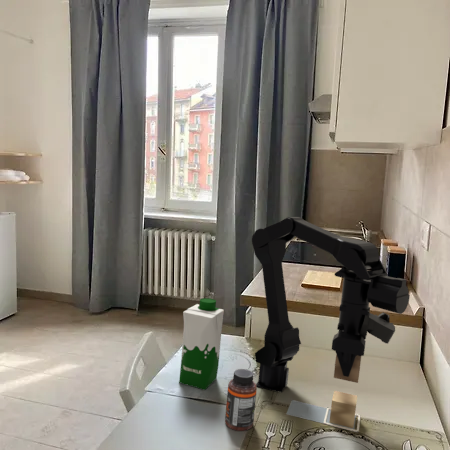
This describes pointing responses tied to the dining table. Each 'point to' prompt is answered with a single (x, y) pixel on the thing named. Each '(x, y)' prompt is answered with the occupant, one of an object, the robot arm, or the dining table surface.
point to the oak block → (343, 409)
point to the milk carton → (201, 344)
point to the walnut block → (353, 373)
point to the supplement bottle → (241, 401)
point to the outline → (341, 426)
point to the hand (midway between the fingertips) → (347, 371)
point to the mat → (310, 412)
